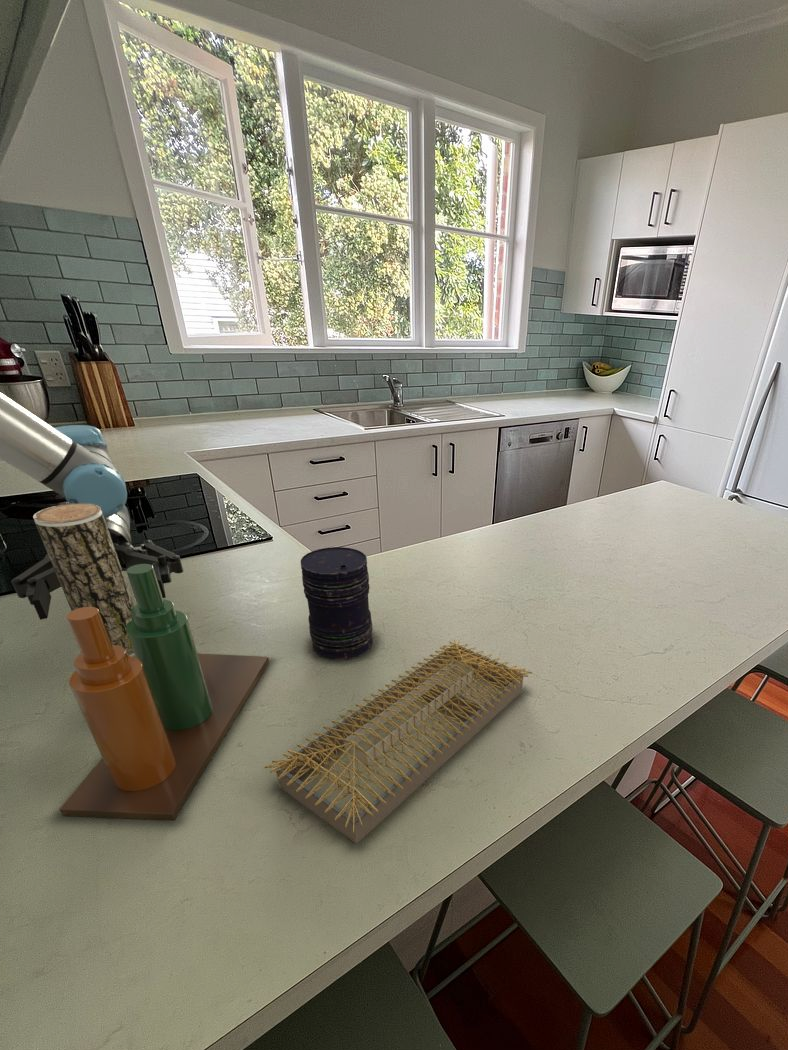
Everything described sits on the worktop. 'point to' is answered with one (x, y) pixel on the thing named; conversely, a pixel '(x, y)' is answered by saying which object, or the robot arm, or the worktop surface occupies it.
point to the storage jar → (338, 602)
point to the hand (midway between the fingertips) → (102, 599)
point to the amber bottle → (118, 706)
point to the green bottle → (166, 653)
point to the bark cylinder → (88, 565)
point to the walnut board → (175, 749)
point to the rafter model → (399, 735)
